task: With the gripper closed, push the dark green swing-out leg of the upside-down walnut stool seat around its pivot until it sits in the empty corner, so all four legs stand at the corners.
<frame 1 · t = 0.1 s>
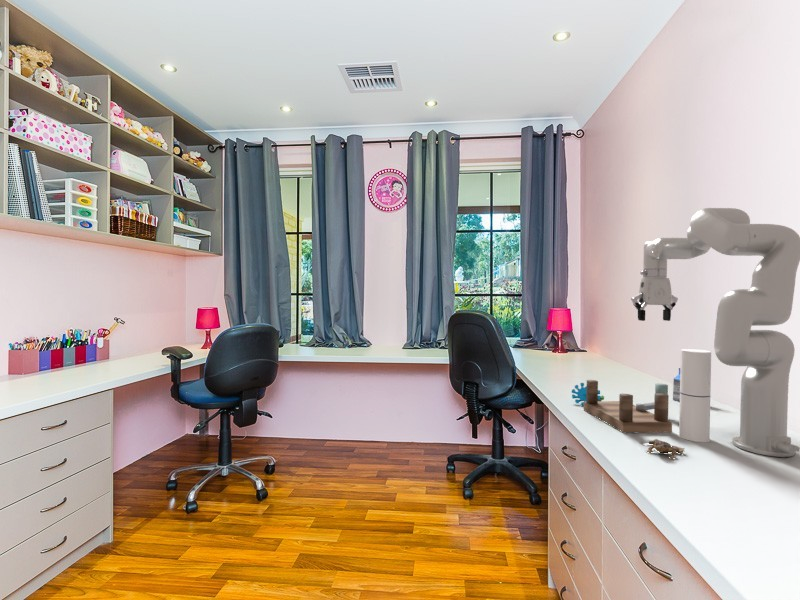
hand: (654, 320, 157), 31 cm above the worktop, tool pointing down, fingers open, 9 cm apart
cylindrical container: (694, 438, 121), on the worktop
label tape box: (687, 402, 161), on the worktop
blue spiky piece: (587, 405, 156), on the worktop
stool seat: (623, 420, 138), on the worktop
frog figurine: (664, 454, 110), on the worktop
swing leg: (651, 397, 140), point 7 cm above the worktop, hinge at -70.0°
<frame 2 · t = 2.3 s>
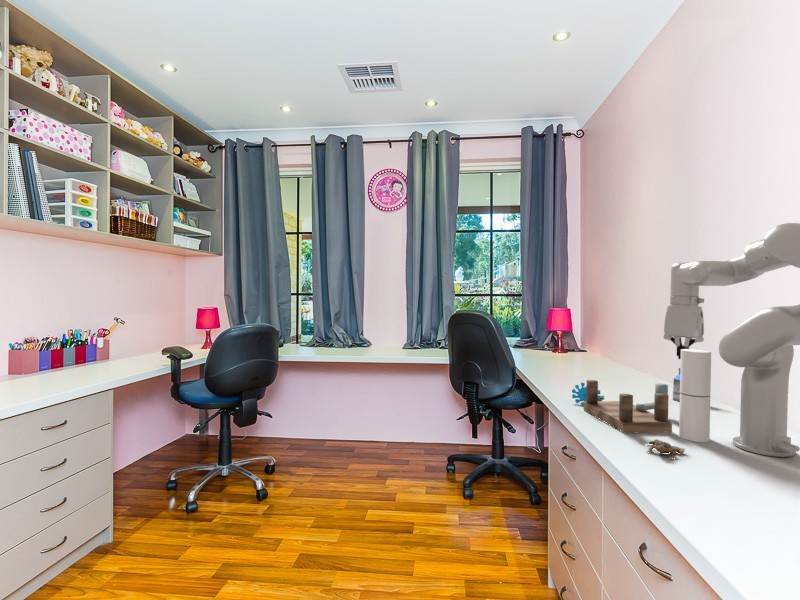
hand: (682, 358, 135), 20 cm above the worktop, tool pointing down, fingers closed
nothing on the worktop moved.
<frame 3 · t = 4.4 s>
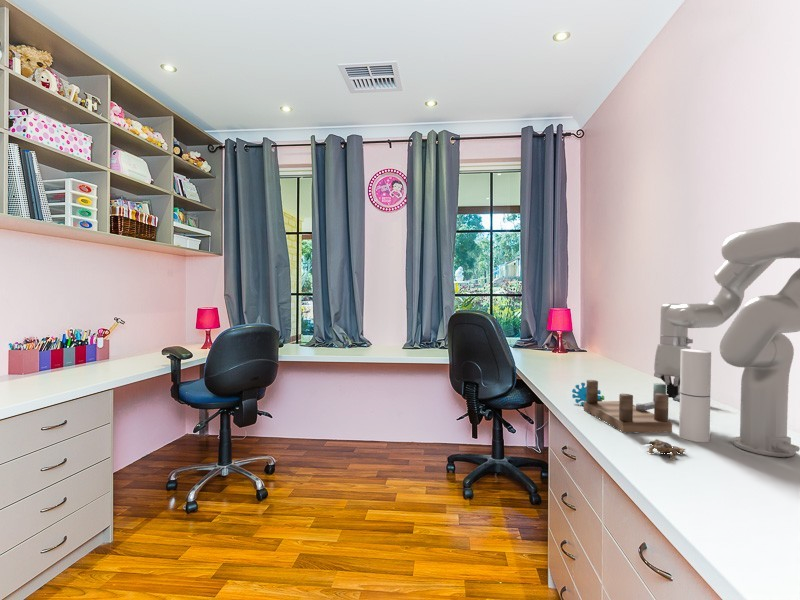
hand: (672, 397, 138), 7 cm above the worktop, tool pointing down, fingers closed
swing leg: (650, 396, 140), point 7 cm above the worktop, hinge at -66.5°, touching gripper
everything else where it was.
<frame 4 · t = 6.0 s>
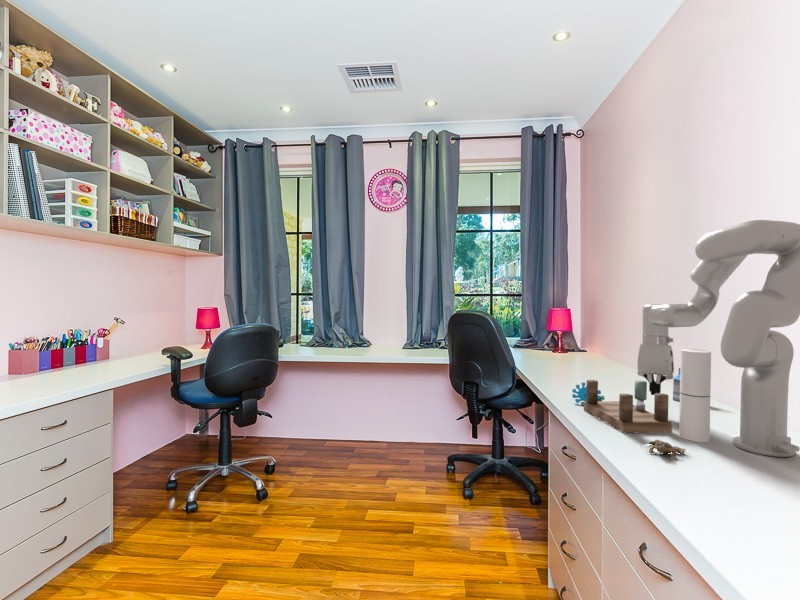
hand: (654, 394, 144), 7 cm above the worktop, tool pointing down, fingers closed
swing leg: (640, 395, 142), point 7 cm above the worktop, hinge at -32.6°, touching gripper
everything else where it was.
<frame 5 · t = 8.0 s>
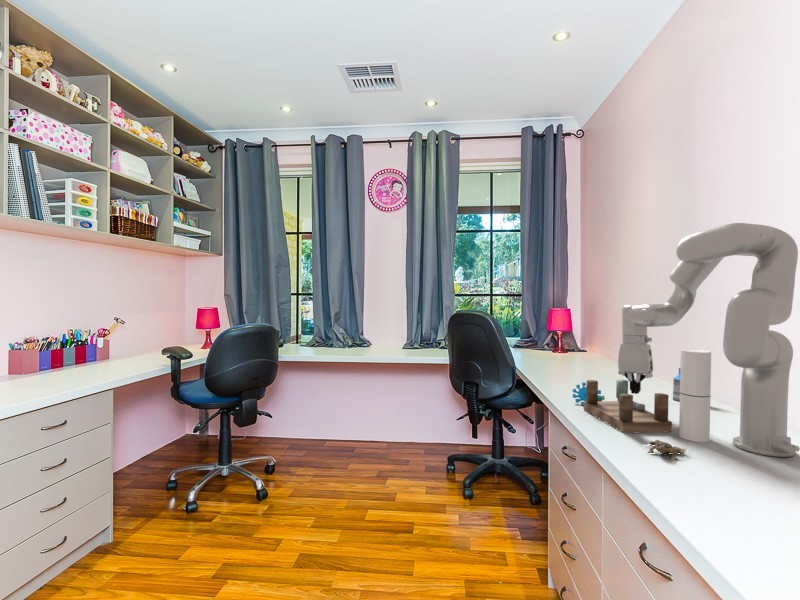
hand: (635, 392, 147), 7 cm above the worktop, tool pointing down, fingers closed
swing leg: (630, 394, 143), point 7 cm above the worktop, hinge at 1.5°, touching gripper
everything else where it was.
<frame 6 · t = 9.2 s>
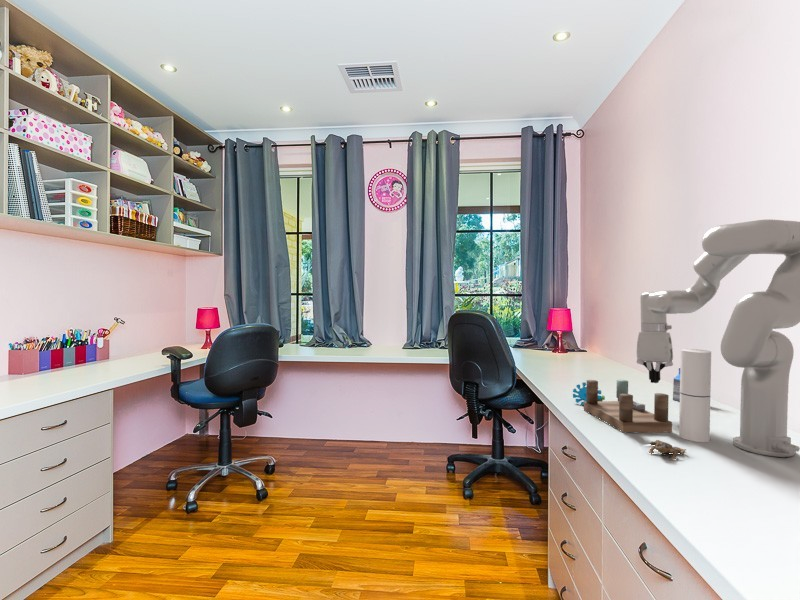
hand: (654, 382, 144), 11 cm above the worktop, tool pointing down, fingers closed
swing leg: (630, 394, 143), point 7 cm above the worktop, hinge at 1.1°
everything else where it was.
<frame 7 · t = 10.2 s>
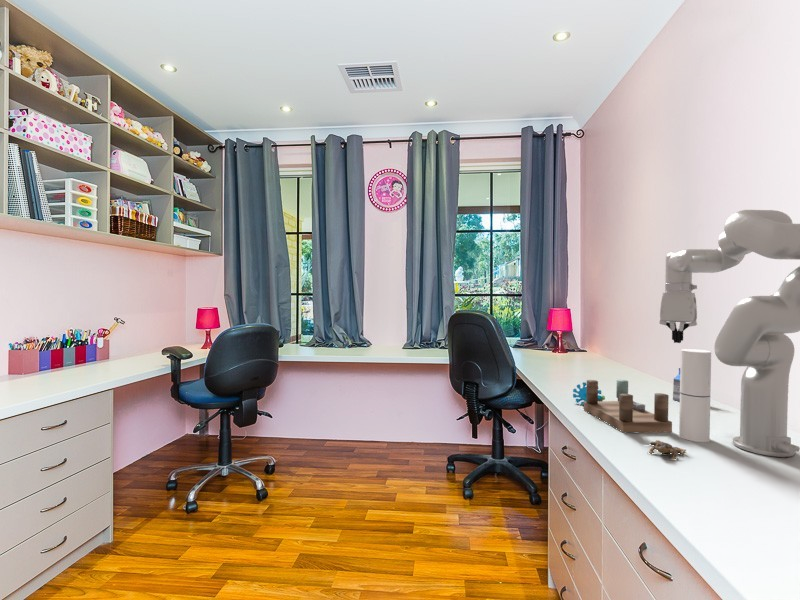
hand: (677, 342, 144), 25 cm above the worktop, tool pointing down, fingers closed
nothing on the worktop moved.
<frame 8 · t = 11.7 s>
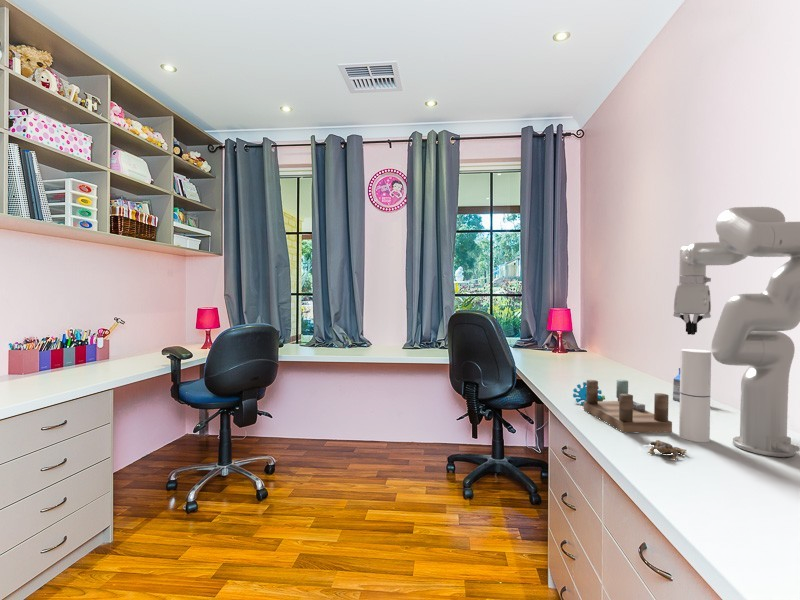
hand: (691, 334, 147), 27 cm above the worktop, tool pointing down, fingers closed
at the end: swing leg at +1° (first picture: -70°); cylindrical container moved 0.2 cm from its start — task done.
